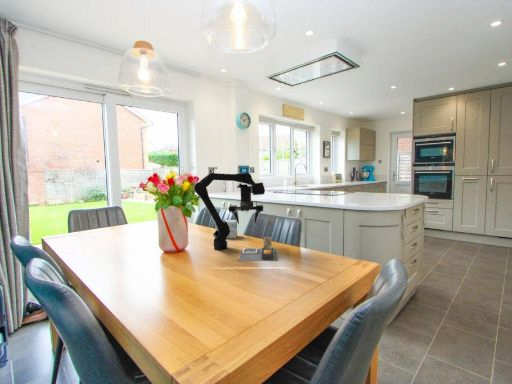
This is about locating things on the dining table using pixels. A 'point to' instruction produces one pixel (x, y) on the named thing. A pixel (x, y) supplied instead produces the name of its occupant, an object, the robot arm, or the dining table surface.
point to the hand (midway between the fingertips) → (246, 223)
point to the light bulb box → (232, 228)
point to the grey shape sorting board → (257, 255)
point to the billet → (267, 243)
